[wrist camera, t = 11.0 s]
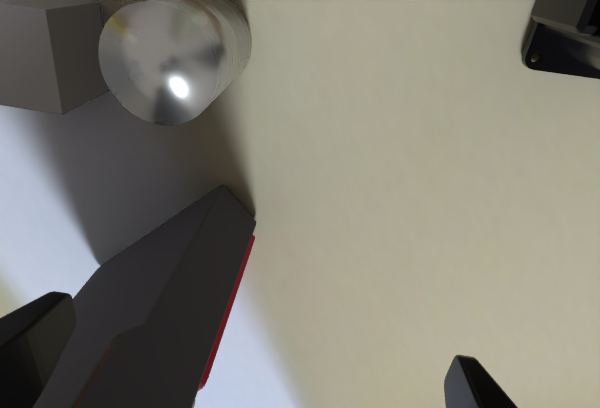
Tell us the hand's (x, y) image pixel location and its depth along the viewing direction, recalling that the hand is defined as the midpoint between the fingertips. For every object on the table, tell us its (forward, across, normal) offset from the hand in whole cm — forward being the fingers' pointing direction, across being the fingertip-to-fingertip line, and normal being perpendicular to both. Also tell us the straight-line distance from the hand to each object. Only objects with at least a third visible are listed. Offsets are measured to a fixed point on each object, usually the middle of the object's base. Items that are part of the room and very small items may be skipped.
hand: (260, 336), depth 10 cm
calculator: (+13, +7, +8) cm, 17 cm away
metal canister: (+13, +5, -4) cm, 14 cm away
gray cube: (+13, +12, -3) cm, 18 cm away
